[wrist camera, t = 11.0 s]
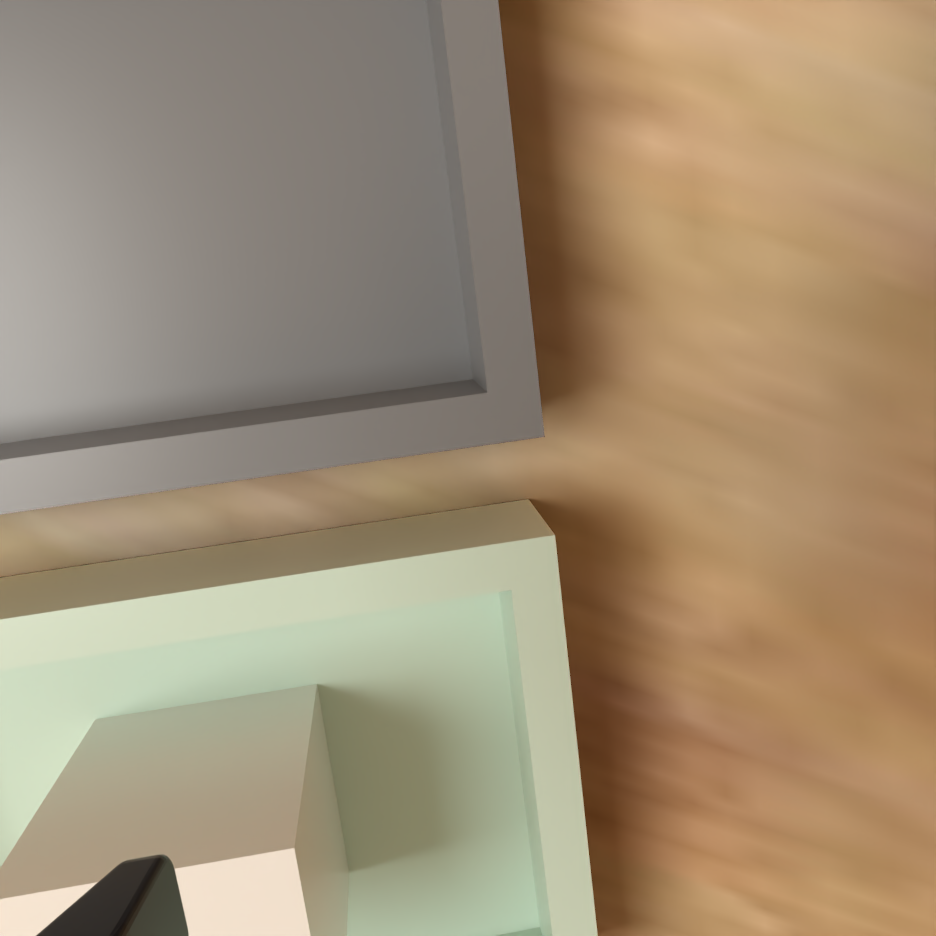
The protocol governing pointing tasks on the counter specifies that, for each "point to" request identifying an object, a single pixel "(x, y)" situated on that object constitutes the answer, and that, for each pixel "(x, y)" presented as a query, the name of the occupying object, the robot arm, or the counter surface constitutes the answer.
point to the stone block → (195, 818)
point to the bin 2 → (345, 698)
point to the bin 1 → (254, 242)
